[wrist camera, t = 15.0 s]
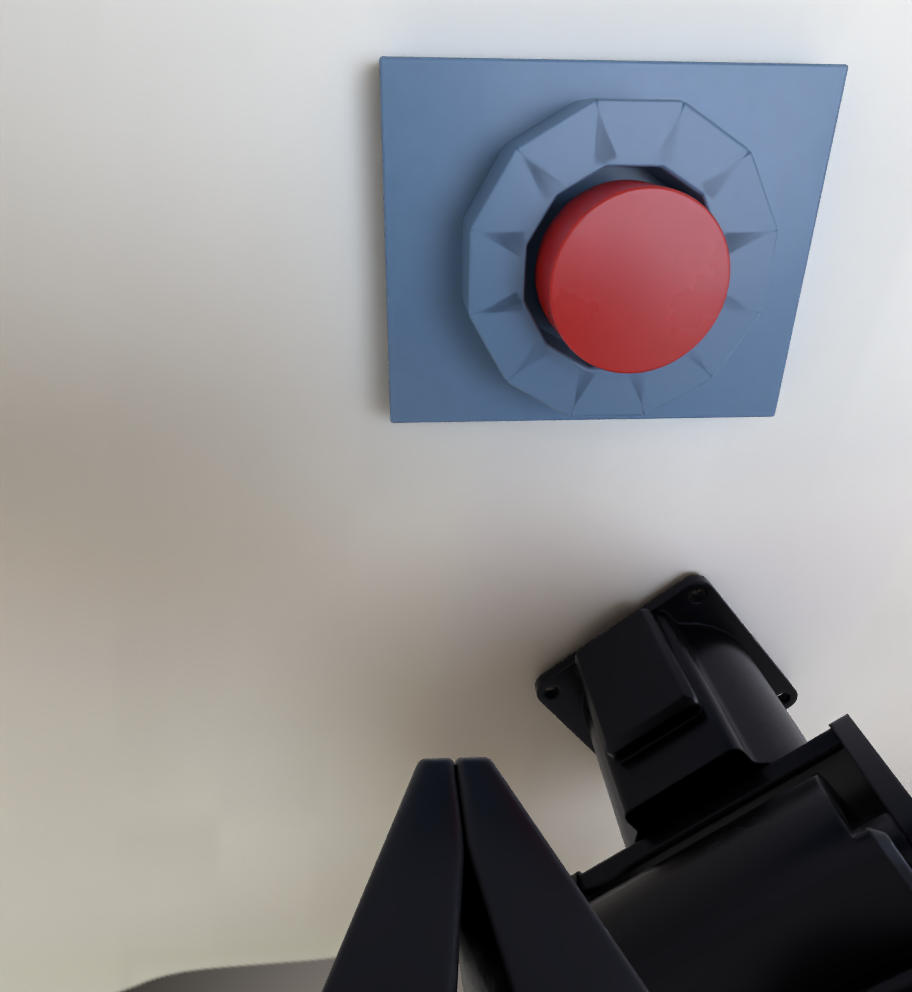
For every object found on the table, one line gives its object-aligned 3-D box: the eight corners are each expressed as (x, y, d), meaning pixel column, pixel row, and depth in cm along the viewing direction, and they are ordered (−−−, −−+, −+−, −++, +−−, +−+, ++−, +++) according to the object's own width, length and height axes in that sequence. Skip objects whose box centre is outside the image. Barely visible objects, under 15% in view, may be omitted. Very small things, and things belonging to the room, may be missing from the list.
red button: (711, 180, 16) (746, 186, 14) (685, 350, 17) (715, 373, 16) (539, 179, 15) (556, 185, 14) (530, 352, 17) (543, 375, 15)
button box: (821, 67, 17) (900, 58, 14) (755, 401, 21) (809, 443, 18) (379, 60, 16) (377, 48, 14) (390, 407, 20) (389, 452, 17)
